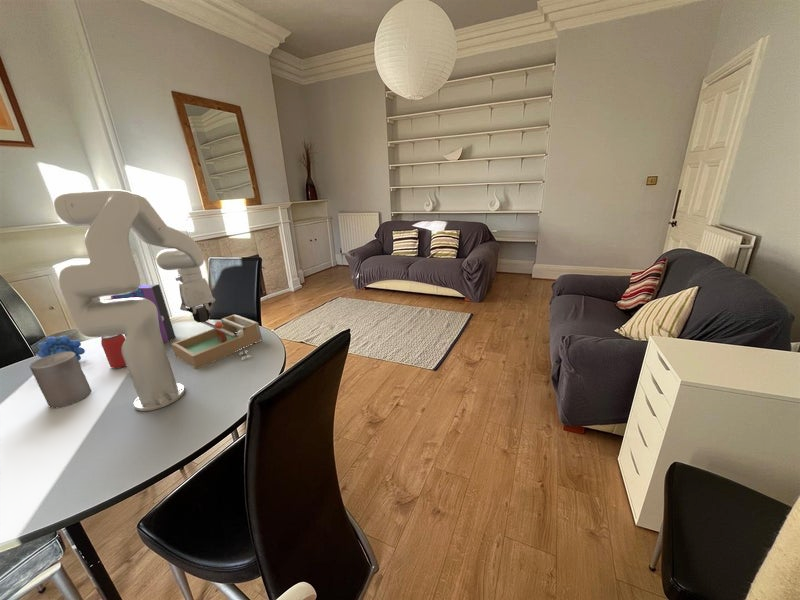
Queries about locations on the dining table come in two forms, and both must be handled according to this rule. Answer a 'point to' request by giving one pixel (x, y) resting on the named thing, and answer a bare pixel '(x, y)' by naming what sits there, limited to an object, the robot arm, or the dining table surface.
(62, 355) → the pillar candle
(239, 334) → the ball
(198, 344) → the pitch
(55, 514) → the dining table surface
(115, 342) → the beer can
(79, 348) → the grapes
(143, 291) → the cereal box
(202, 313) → the striker
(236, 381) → the dining table surface
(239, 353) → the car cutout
